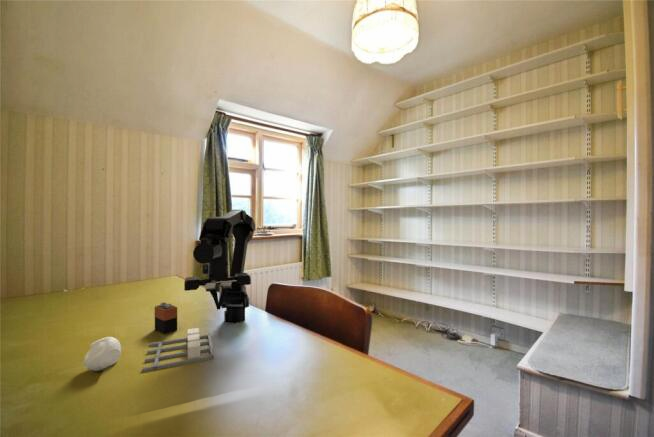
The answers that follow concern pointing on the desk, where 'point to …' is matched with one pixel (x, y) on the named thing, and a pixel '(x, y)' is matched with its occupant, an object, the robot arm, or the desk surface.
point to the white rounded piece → (103, 354)
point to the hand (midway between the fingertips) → (218, 309)
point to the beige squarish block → (193, 338)
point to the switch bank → (176, 353)
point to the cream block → (193, 349)
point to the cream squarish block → (193, 331)
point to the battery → (165, 318)
